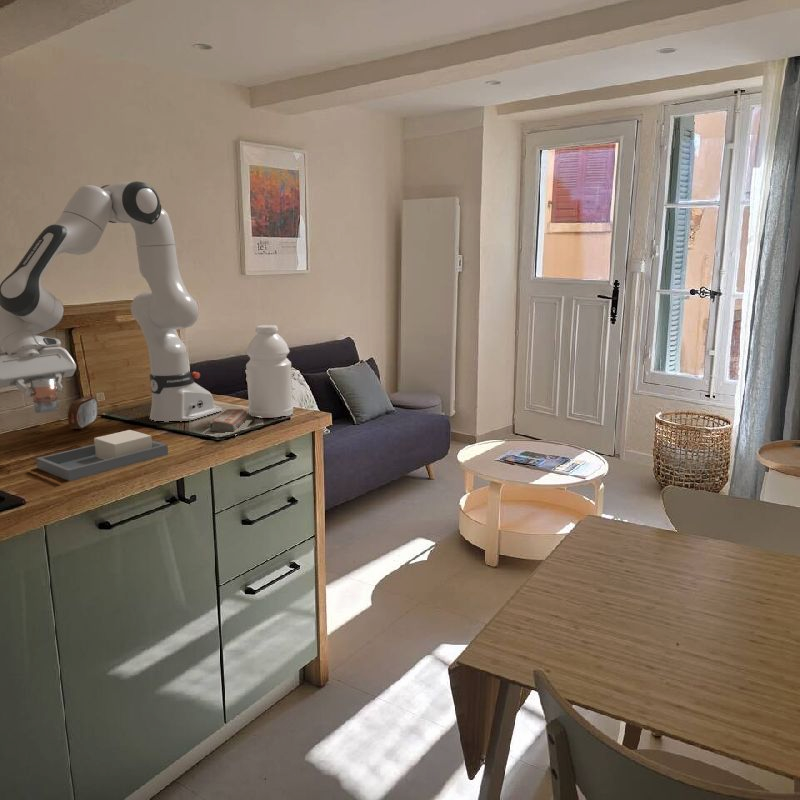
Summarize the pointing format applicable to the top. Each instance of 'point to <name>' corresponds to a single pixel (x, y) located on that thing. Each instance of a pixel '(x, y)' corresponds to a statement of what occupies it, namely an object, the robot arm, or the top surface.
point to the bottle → (269, 374)
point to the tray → (93, 461)
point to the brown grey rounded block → (82, 412)
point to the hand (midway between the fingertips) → (45, 392)
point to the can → (44, 394)
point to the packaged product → (227, 421)
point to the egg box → (121, 444)
